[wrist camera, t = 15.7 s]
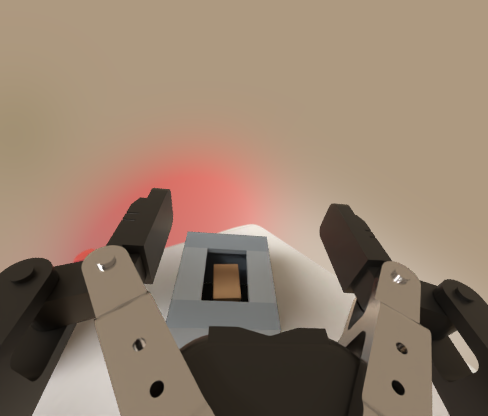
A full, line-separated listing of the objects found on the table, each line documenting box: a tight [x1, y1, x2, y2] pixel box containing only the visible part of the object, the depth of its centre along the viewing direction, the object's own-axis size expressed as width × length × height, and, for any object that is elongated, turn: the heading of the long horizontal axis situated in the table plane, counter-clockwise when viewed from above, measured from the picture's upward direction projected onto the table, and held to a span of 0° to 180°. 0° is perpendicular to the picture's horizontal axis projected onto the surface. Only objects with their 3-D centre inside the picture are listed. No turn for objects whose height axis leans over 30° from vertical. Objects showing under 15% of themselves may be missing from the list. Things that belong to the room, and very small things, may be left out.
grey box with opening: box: [166, 232, 281, 349], centre depth 37 cm, size 16×14×14 cm
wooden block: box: [212, 264, 241, 302], centre depth 38 cm, size 6×4×12 cm, turn 6°
